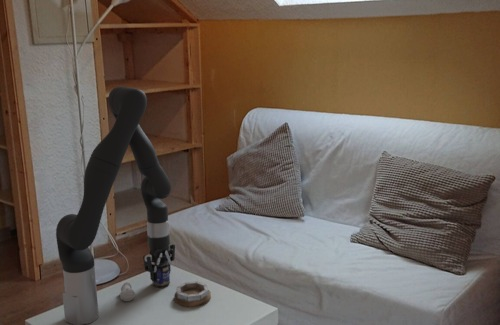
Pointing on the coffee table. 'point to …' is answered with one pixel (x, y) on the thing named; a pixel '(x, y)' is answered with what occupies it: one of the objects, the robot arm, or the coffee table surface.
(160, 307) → the coffee table surface
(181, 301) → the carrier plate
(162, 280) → the pill bottle
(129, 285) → the white head bust
